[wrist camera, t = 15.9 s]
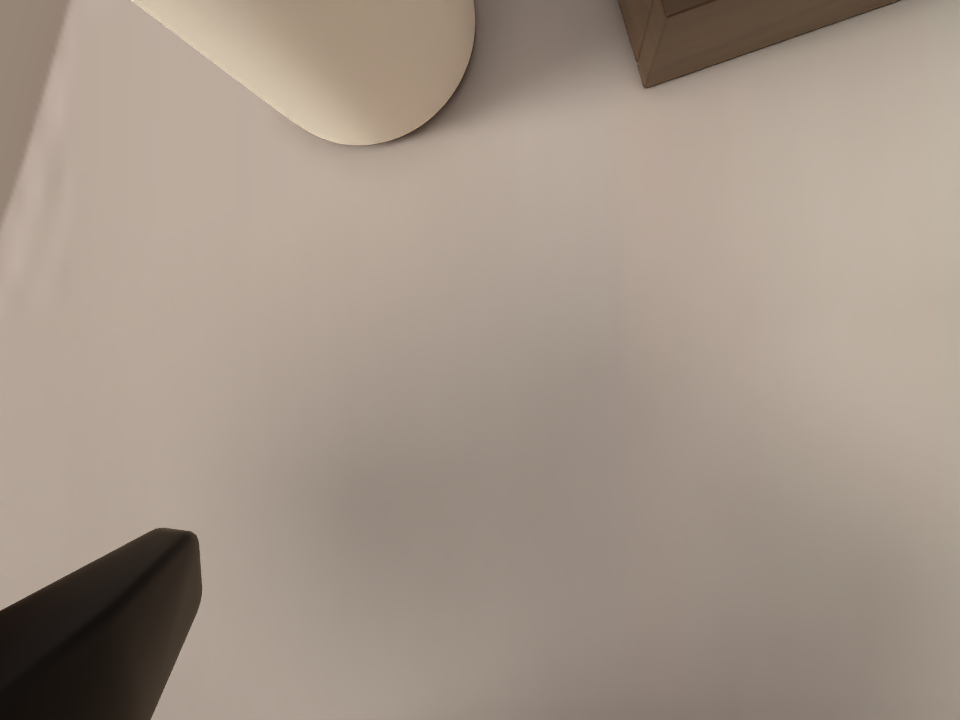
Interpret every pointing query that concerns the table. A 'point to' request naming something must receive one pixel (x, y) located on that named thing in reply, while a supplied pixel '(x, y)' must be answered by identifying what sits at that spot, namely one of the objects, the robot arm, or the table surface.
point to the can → (334, 57)
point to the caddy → (720, 29)
